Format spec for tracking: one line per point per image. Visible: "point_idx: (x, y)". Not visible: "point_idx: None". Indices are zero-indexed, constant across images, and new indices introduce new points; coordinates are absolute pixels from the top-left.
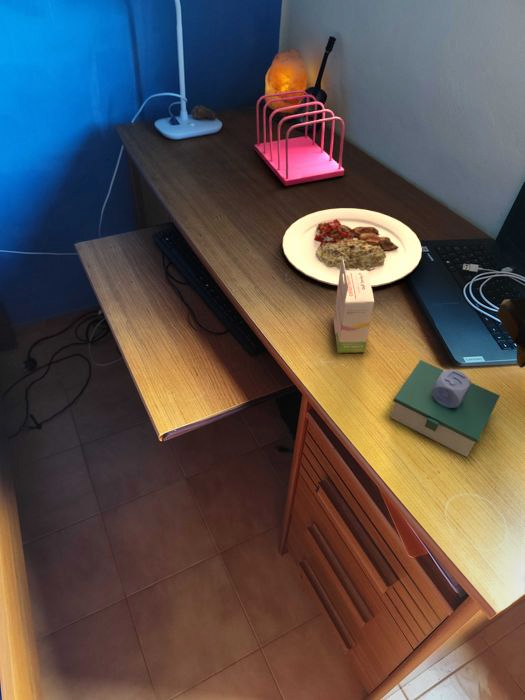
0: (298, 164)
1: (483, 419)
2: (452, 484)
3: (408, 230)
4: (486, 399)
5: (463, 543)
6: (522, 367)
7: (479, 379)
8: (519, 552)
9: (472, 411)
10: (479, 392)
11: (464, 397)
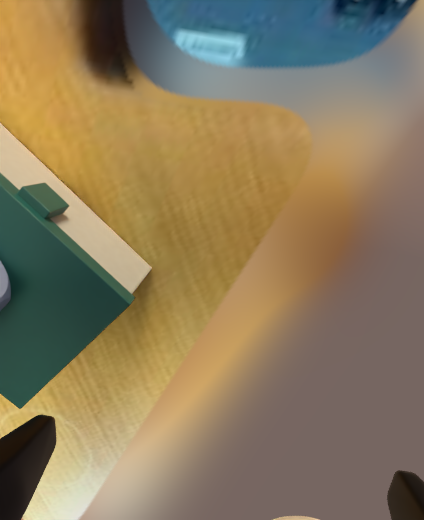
0: None
1: (51, 364)
2: None
3: None
4: (84, 308)
5: None
6: (52, 447)
7: (188, 144)
8: (93, 497)
9: (30, 336)
10: (72, 281)
11: (3, 305)
